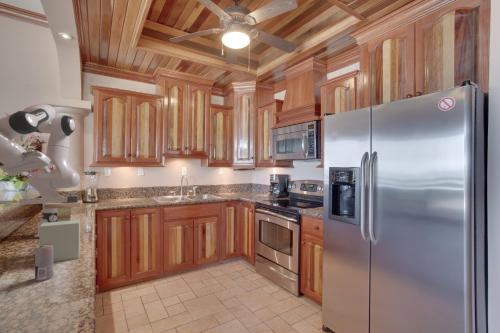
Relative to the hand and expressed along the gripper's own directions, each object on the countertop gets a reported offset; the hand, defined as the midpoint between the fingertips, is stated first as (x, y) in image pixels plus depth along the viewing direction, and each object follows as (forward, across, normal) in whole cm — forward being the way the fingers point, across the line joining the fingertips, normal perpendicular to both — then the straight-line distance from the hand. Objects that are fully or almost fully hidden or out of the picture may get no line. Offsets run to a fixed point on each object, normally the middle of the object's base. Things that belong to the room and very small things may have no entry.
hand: (40, 174), depth 124 cm
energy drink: (+10, -17, +50) cm, 53 cm away
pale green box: (+22, -7, +35) cm, 42 cm away
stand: (+28, 0, +28) cm, 39 cm away
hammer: (+9, -2, +12) cm, 15 cm away
